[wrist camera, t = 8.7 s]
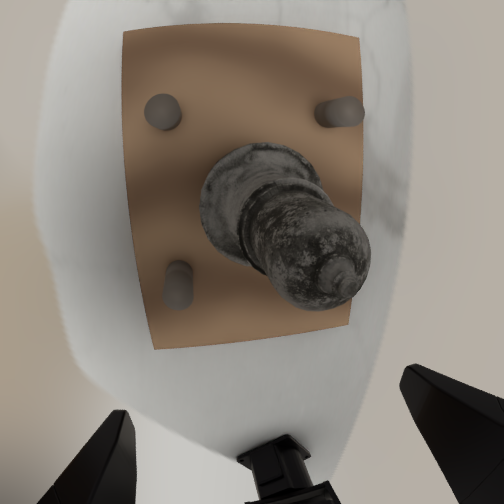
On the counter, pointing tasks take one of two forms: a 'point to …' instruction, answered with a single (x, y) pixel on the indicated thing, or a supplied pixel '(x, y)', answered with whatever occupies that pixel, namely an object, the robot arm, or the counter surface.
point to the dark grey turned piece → (284, 226)
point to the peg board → (217, 146)
